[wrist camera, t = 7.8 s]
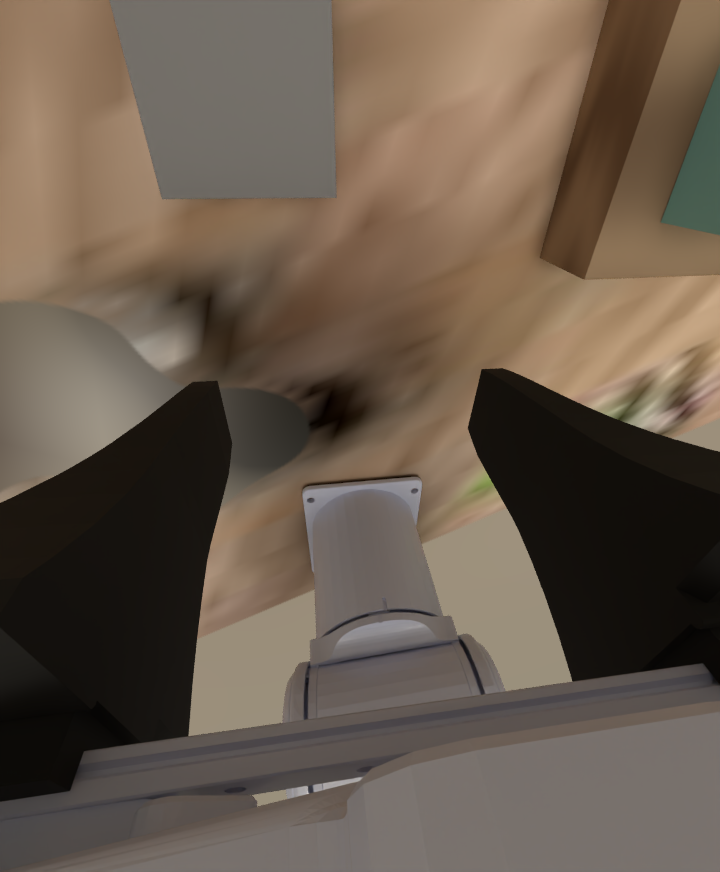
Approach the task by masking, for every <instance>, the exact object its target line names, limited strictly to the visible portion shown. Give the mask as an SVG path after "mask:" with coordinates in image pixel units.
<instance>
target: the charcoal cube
mask: <svg viewBox="0 0 720 872" xmlns="http://www.w3.org/2000/svg"><path fill="white" fill-rule="evenodd" d="M110 4H111V8H112V12H113V15H114V19H115V23H116V27H117V31H118V34H119V38H120V42H121V46H122V50H123V53H124V57H125V61H126V65H127V68H128V72H129V76H130V80H131V84H132V87H133V91H134V95H135V99H136V102H137V106H138V110H139V114H140V118H141V121H142V125H143V129H144V133H145V136H146V140H147V144H148V148H149V152H150V155H151V159H152V163H153V167H154V170H155V174H156V178H157V182H158V186H159V189H160V193H161V197H162V199H241V198H337V195H336V157H335V119H334V81H333V43H332V5H331V0H110Z"/></svg>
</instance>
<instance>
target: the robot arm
mask: <svg viewBox="0 0 720 872" xmlns="http://www.w3.org/2000/svg"><path fill="white" fill-rule="evenodd" d="M468 430H469V433H470V436H471V439H472V442H473V444H474V447H475V450H476V452H477V455H478V457H479V459H480V461H481V463H482V464H483V466H484V468H485V470H486V472H487V474H488V475H489V477H490V479H491V481H492V483H493V484H494V486H495V488H496V490H497V491H498V493H499V495H500V497H501V498H502V500H503V502H504V504H505V506H506V507H507V509H508V511H509V513H510V514H511V516H512V518H513V520H514V522H515V524H516V526H517V528H518V530H519V532H520V535H521V537H522V539H523V542H524V544H525V546H526V549H527V551H528V553H529V556H530V558H531V560H532V563H533V566H534V568H535V571H536V574H537V576H538V579H539V581H540V584H541V587H542V589H543V592H544V594H545V597H546V600H547V603H548V606H549V609H550V612H551V615H552V617H553V620H554V623H555V626H556V629H557V632H558V635H559V638H560V641H561V645H562V648H563V651H564V654H565V657H566V661H567V664H568V668H569V671H570V674H571V677H572V681H573V682H567V683H560V684H553V685H546V686H540V687H532V688H525V689H519V690H511V691H505V688H504V685H503V683H502V680H501V678H500V675H499V673H498V671H497V668H496V666H495V664H494V662H493V660H492V658H491V657H490V655H489V653H488V652H487V650H486V649H485V648H484V647H483V646H482V645H481V644H479V643H478V642H477V641H476V640H475V639H474V638H473V637H472V636H471V635H469V634H462V635H457V632H456V629H455V626H454V623H453V620H452V617H451V616H443V614H442V610H441V607H440V604H439V601H438V597H437V594H436V590H435V587H434V584H433V581H432V577H431V574H430V571H429V567H428V564H427V561H426V557H425V555H424V551H423V548H422V544H421V541H420V538H419V534H418V531H417V528H416V526H417V518H418V511H419V504H420V497H421V490H422V481H421V479H420V478H419V477H406V478H395V479H383V480H372V481H361V482H349V483H338V484H326V485H315V486H307V487H305V488H304V489H303V492H302V496H303V503H304V511H305V519H306V527H307V534H308V542H309V550H310V558H311V565H312V571H313V572H314V584H315V610H316V611H315V612H316V639H313V640H311V641H310V661H309V662H302V663H300V664H298V666H297V667H296V669H295V672H294V673H293V675H292V676H291V678H290V679H289V681H288V683H287V687H286V691H285V698H284V707H283V723H279V724H272V725H265V726H258V727H251V728H243V729H236V730H230V731H222V732H216V733H208V734H201V735H195V736H188V734H189V720H190V708H191V695H192V683H193V673H194V662H195V653H196V643H197V634H198V625H199V617H200V609H201V601H202V593H203V586H204V579H205V572H206V565H207V559H208V554H209V549H210V545H211V541H212V537H213V533H214V529H215V525H216V522H217V518H218V514H219V510H220V506H221V502H222V499H223V495H224V491H225V487H226V483H227V478H228V475H229V467H230V459H231V448H232V441H231V437H230V432H229V429H228V424H227V419H226V415H225V411H224V407H223V403H222V398H221V394H220V390H219V385H218V381H206V382H193V383H191V384H189V385H188V386H187V387H185V388H184V389H183V390H181V391H180V392H179V393H177V394H176V395H175V396H174V397H172V398H171V399H170V400H169V401H167V402H166V403H165V404H164V405H162V406H161V407H160V408H158V409H157V410H156V411H155V412H153V413H152V414H151V415H150V416H148V417H147V418H146V419H144V420H143V421H142V422H140V423H139V424H137V425H136V426H135V427H133V428H132V429H130V430H129V431H128V432H126V433H125V434H123V435H122V436H121V437H119V438H118V439H116V440H115V441H114V442H112V443H111V444H109V445H108V446H106V447H105V448H103V449H101V450H100V451H98V452H97V453H95V454H93V455H92V456H90V457H88V458H87V459H85V460H83V461H82V462H80V463H78V464H76V465H75V466H73V467H71V468H69V469H68V470H66V471H64V472H62V473H60V474H59V475H56V476H54V477H52V478H50V479H48V480H46V481H44V482H42V483H40V484H38V485H36V486H34V487H32V488H30V489H28V490H26V491H24V492H22V493H20V494H18V495H16V496H14V497H12V498H10V499H8V500H6V501H4V502H1V503H0V872H720V452H718V451H714V450H710V449H706V448H703V447H699V446H696V445H692V444H689V443H685V442H682V441H678V440H674V439H671V438H668V437H665V436H662V435H659V434H656V433H653V432H650V431H647V430H644V429H641V428H639V427H636V426H633V425H630V424H627V423H625V422H622V421H619V420H617V419H614V418H612V417H609V416H607V415H605V414H602V413H600V412H598V411H595V410H593V409H591V408H588V407H586V406H584V405H582V404H580V403H577V402H575V401H573V400H571V399H569V398H567V397H565V396H562V395H560V394H558V393H556V392H554V391H552V390H550V389H548V388H546V387H544V386H542V385H540V384H538V383H536V382H534V381H532V380H530V379H527V378H525V377H523V376H521V375H519V374H516V373H514V372H511V371H509V370H506V369H503V368H500V369H482V370H481V374H480V379H479V383H478V387H477V391H476V396H475V400H474V404H473V409H472V413H471V417H470V421H469V426H468ZM414 488H416V489H414ZM412 489H413V490H412ZM308 498H312V499H308ZM285 789H286V794H287V799H286V800H282V801H278V802H274V803H270V804H266V805H262V806H258V807H257V801H256V800H255V798H254V797H253V796H252V795H254V794H259V793H266V792H273V791H279V790H285Z"/></svg>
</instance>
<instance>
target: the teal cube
mask: <svg viewBox="0 0 720 872" xmlns="http://www.w3.org/2000/svg"><path fill="white" fill-rule="evenodd" d="M661 223H665V224H670V225H675V226H679V227H684V228H689V229H693V230H698V231H702V232H707V233H712V234H716V235H720V65H719V68H718V71H717V73H716V76H715V79H714V81H713V84H712V87H711V89H710V92H709V95H708V97H707V100H706V103H705V105H704V108H703V111H702V113H701V116H700V119H699V121H698V124H697V127H696V129H695V132H694V135H693V138H692V140H691V143H690V146H689V148H688V151H687V154H686V156H685V159H684V162H683V164H682V167H681V170H680V172H679V175H678V178H677V180H676V183H675V186H674V188H673V191H672V194H671V196H670V199H669V202H668V204H667V207H666V210H665V213H664V215H663V218H662V221H661Z"/></svg>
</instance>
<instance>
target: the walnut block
mask: <svg viewBox="0 0 720 872" xmlns="http://www.w3.org/2000/svg"><path fill="white" fill-rule="evenodd" d="M719 65H720V0H609V3H608V6H607V10H606V14H605V17H604V21H603V25H602V29H601V32H600V36H599V40H598V43H597V47H596V51H595V55H594V58H593V62H592V66H591V69H590V73H589V77H588V81H587V84H586V88H585V92H584V96H583V99H582V103H581V107H580V110H579V114H578V118H577V122H576V125H575V129H574V133H573V136H572V140H571V144H570V148H569V151H568V155H567V159H566V163H565V166H564V170H563V174H562V177H561V181H560V185H559V189H558V192H557V196H556V200H555V203H554V207H553V211H552V215H551V218H550V222H549V226H548V229H547V233H546V237H545V241H544V244H543V248H542V252H541V256H540V258H541V259H543V260H545V261H547V262H549V263H552V264H554V265H556V266H558V267H560V268H562V269H564V270H566V271H568V272H570V273H572V274H574V275H576V276H578V277H580V278H582V279H584V280H590V279H618V278H646V277H674V276H702V275H720V235H716V234H712V233H707V232H702V231H698V230H693V229H689V228H684V227H679V226H675V225H670V224H665V223H661V221H662V218H663V215H664V213H665V210H666V207H667V204H668V202H669V199H670V196H671V194H672V191H673V188H674V186H675V183H676V180H677V178H678V175H679V172H680V170H681V167H682V164H683V162H684V159H685V156H686V154H687V151H688V148H689V146H690V143H691V140H692V138H693V135H694V132H695V129H696V127H697V124H698V121H699V119H700V116H701V113H702V111H703V108H704V105H705V103H706V100H707V97H708V95H709V92H710V89H711V87H712V84H713V81H714V79H715V76H716V73H717V71H718V68H719Z"/></svg>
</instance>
